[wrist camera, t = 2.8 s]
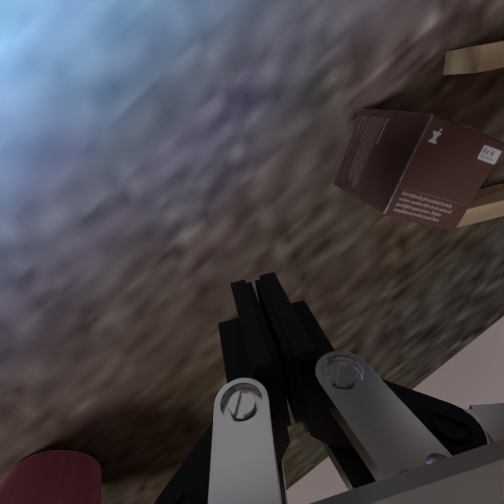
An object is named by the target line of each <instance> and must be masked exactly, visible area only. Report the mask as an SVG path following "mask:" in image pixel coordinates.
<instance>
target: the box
mask: <svg viewBox="0 0 504 504" xmlns="http://www.w3.org/2000/svg"><path fill="white" fill-rule="evenodd" d="M503 148H504V140H501V139H498V138H496V137H494V136H491V135H488V134H486V133H483V132H481V131H478V130H477V129H475V128H473V127H470V126H465V125H463V124H460V123H458V122H455V121H453V120H450V119H448V118H445V117H444V116H441V115H438V114H435V113H422V112H412V111H400V110H385V109H370V108H364V109H363V111H362V113H361V116H360V118H359V121H358V123H357V126H356V129H355V131H354V134H353V136H352V139H351V142H350V144H349V147H348V149H347V152H346V154H345V157H344V159H343V162H342V164H341V167H340V169H339V172H338V174H337V177H336V180H335V182H334V185H336V186H338V187H339V188H341V189H342V190H344V191H346V192H348V193H349V194H351V195H353V196H355V197H356V198H358V199H360V200H362V201H363V202H365V203H367V204H368V205H370V206H372V207H373V208H376V209H377V210H379V211H380V212H382V213H383V214H385V215H388V216H392V217H395V218H399V219H402V220H407V221H411V222H415V223H420V224H423V225H428V226H432V227H436V228H440V229H445V230H450V231H454V230H455V229H456V228H457V226H458V224H459V223H460V221H461V219H462V218H463V216H464V214H465V213H466V211H467V209H468V207H469V206H470V204H471V202H472V201H473V199H474V197H475V196H476V194H477V192H478V190H479V189H480V187H481V185H482V184H483V182H484V181H485V179H486V177H487V176H488V174H489V172H490V171H491V169H492V167H493V166H494V164H495V163H496V161H497V159H498V157H499V156H500V154H501V152H502V150H503Z"/></svg>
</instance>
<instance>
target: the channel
mask: <svg viewBox="0 0 504 504" xmlns="http://www.w3.org/2000/svg"><path fill="white" fill-rule="evenodd" d="M499 68H504V40H503V41H498V42H493V43H488V44H482V45H477V46H472V47H467V48H461V49H456V50H451V51H446V56H445V64H444V72H443V75H454V74H467V73H478V72H483V71H489V70H494V69H499ZM501 216H504V183H502V184H498V185H494V186H490V187H486V188H482V189H479V190H478V192H477V194H476V196H475V197H474V199H473V201H472V202H471V204H470V206H469V207H468V209H467V211H466V213H465V214H464V216H463V218H462V219H461V221H460V223H459V224H458V226H457V227H461V226H465V225H469V224H473V223H477V222H481V221H485V220H489V219H493V218H497V217H501Z"/></svg>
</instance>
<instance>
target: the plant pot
mask: <svg viewBox="0 0 504 504" xmlns="http://www.w3.org/2000/svg"><path fill="white" fill-rule="evenodd" d="M101 473H102V471H101V466H100V464H99V462H98V461H97V460H96V459H95V458H93V457H92V456H90V455H88V454H85V453H82V452H78V451H72V450H51V451H44V452H40V453H37V454H34V455H31V456H29V457H27V458H25V459H23V460H22V461H20V462H19V463H18V464H17V465H16V466H15V467H14V468H13V470H12V471H11V473H10V474H9V476H8V477H7V479H6V480H5V482H4V483H3V485H2V486H1V488H0V504H101Z"/></svg>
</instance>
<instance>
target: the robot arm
mask: <svg viewBox="0 0 504 504" xmlns="http://www.w3.org/2000/svg"><path fill="white" fill-rule="evenodd" d="M255 283H256V288H257V294H258V299H259V302H258V299H257V297H256V294H255V291H254V289H253V286H252V283H251V282H249V283H246V282H245V280H241V281H237V282H233V283H230V284H231V288H232V292H233V296H234V300H235V304H236V308H237V312H238V316H239V318H235V319H231V320H228V321H224V322H220V323H218V325H219V332H220V339H221V345H222V352H223V359H224V365H225V372H226V378H227V384H226V385H225V386H224V387H223V388H222V389H221V390H220V392H219V393H218V395H217V397H216V400H215V405H214V418H213V423H212V424H211V425H210V427H209V428H208V429H207V431H206V432H205V434H204V435H203V436H202V438H201V439H200V440H199V442H198V443H197V445H196V446H195V447H194V449H193V450H192V451H191V453H190V454H189V456H188V457H187V458H186V460H185V461H184V462H183V464H182V465H181V466H180V468H179V469H178V471H177V472H176V473H175V475H174V476H173V477H172V479H171V480H170V482H169V483H168V484H167V486H166V487H165V488H164V490H163V491H162V493H161V494H160V495H159V497H158V498H157V500H156V502H155V503H154V504H288V500H287V493H286V485H285V477H284V469H283V462H282V457H283V455H284V453H285V451H286V449H287V447H288V445H289V443H290V440H289V434H288V429H287V427H288V426H291V422H290V417H289V411H288V405H287V400H288V403H289V406H290V409H291V412H292V415H293V417H294V420H295V423H296V424H298V423H301V422H302V424H303V427H304V430H305V432H306V433H308V432H310V435H311V436H312V437H314V438H316V439H318V440H320V441H322V443H323V445H324V448H325V450H326V452H327V453H328V455H329V457H330V459H331V460H332V462H333V464H334V466H335V468H336V469H337V471H338V473H339V475H340V476H341V478H342V480H343V481H344V483H345V485H346V487H347V488H348V490H349V491H346V492H343V493H340V494H337V495H334V496H331V497H329V498H325V499H323V500H320V501H317V502H314V503H311V504H504V403H495V404H479V405H470V408H469V409H462V408H460V407H457V406H455V405H453V404H451V403H448V402H445V401H442V400H439V399H437V398H434V397H431V396H428V395H425V394H423V393H420V392H416V391H414V390H411V389H408V388H406V387H403V386H400V385H397V384H394V383H391V382H389V381H386V380H383V379H381V378H380V377H379V376H378V375H377V374H376V373H375V372H374V371H373V370H372V369H371V368H370V367H369V366H368V364H367V363H366V362H365V361H364V360H362V359H361V358H360V357H359V356H357V355H355V354H353V353H350V352H346V351H335V350H334V349H333V347H332V345H331V344H330V342H329V340H328V339H327V337H326V335H325V334H324V332H323V330H322V329H321V327H320V325H319V324H318V322H317V320H316V319H315V317H314V316H313V314H312V312H311V311H310V309H309V307H308V306H307V304H306V303H305V301H299V302H295V303H290V301H289V299H288V297H287V296H286V294H285V292H284V290H283V288H282V286H281V284H280V282H279V280H278V278H277V277H276V275H275V273H274V272H272V273H268V274H264V275H260V280H256V281H255ZM259 304H260V305H259ZM286 397H287V399H286Z"/></svg>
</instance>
